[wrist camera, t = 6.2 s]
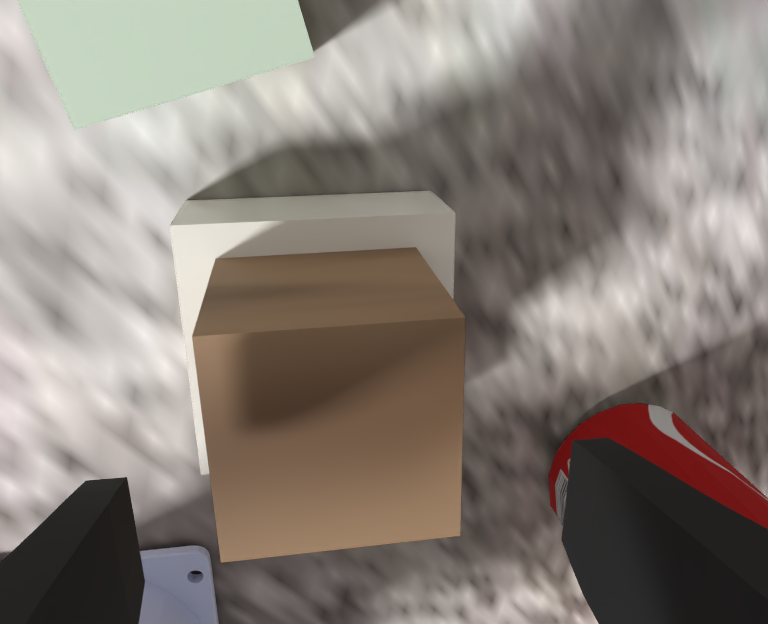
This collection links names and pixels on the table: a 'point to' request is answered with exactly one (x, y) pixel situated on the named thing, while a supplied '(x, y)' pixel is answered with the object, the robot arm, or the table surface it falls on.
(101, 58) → the sage cube
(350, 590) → the table surface
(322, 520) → the walnut cube
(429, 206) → the cream slab
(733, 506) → the soda can
